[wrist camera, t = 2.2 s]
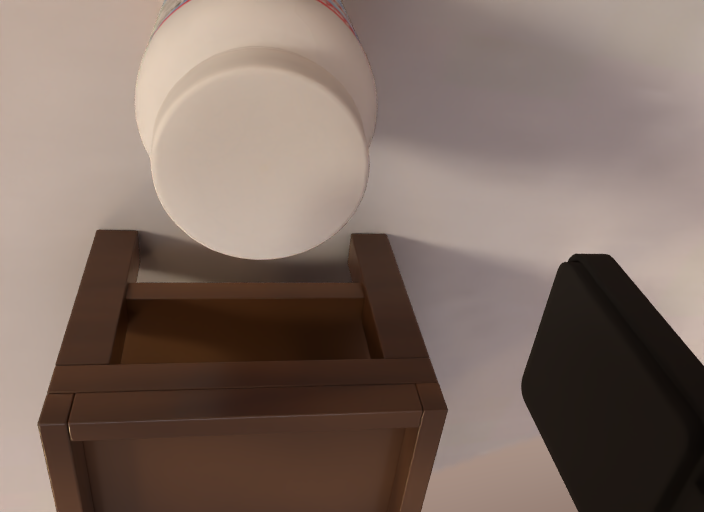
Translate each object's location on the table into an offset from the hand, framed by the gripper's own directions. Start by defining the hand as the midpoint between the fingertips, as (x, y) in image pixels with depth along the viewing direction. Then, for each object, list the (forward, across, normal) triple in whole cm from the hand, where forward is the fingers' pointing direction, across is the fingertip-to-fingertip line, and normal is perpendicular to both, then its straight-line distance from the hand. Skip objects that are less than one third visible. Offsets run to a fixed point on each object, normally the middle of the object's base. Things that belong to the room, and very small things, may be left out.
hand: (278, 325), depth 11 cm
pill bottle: (+16, 0, -1) cm, 16 cm away
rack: (+16, 0, +15) cm, 22 cm away
